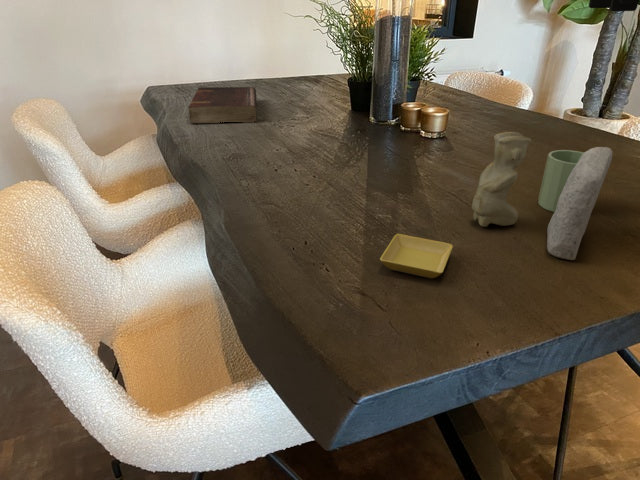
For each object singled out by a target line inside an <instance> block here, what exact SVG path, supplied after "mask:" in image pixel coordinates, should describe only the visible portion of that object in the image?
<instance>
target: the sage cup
mask: <svg viewBox="0 0 640 480" xmlns="http://www.w3.org/2000/svg"><path fill="white" fill-rule="evenodd" d="M583 153H585V152H584V151H578V150H573V149H572V150H571V149H560V150H559V149H558V150H557V149H556V150H552V151H550V152H549V153H548V154H547V158H546V162H545V167H544V170H543V176H542V180H541V186H540V188H539V193H538V200H537V202H538V205H539V206H540V207H541V208H543V209H544V210H547V211H550V212H553V213H555V211H556V208H557V203H558V200H559V197H560V195H561V193H562V191H563V188H564V186H565V184H566V182H567V179H568V177H569V175H570V174H571V172H572V170H573V168H574V167H575V165H576V164H577V162H578V161H579V159H580V157H581V156H582V154H583Z"/></svg>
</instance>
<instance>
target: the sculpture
mask: <svg viewBox="0 0 640 480" xmlns="http://www.w3.org/2000/svg"><path fill="white" fill-rule="evenodd" d="M493 140H494V150H493V151H494V152H493V155H494V156H493V161H492V162H490V163H489V164H488V165H487V166H486V167H485V168H484V170H483V171H482V172H481V173H480V175H479V178H478V186H477V189H476V192H475V193H474V196H473V199H472V204H471V209H472V211H473V214H472V215H473V217H472V218H473V220H474V221H475V222H476V223H478V225H480V227H482V228H487V227H489V225H490V224H493V225H498V226H501V227H507V226H511V225H515V224H516V223H517V221H518V220H519V213H518V210H517V209H516V208H515V207H513V206H512V204H510V203H509V202H508V201H507V197H508V193H509V191H510V189H511V186H512V185H513V184H514V183H515V181H516V180H517V178H518V171H517V170H516V168H519V167H520V166H521V163H522V161H523V160H524V159H526V155H527V149H528V147H529V143H530V142H531V141H532V138H531V137H528V136H525V135H523V134H522V133H520V132H517V131H502V132H498V133H496V134H494V135H493Z"/></svg>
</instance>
